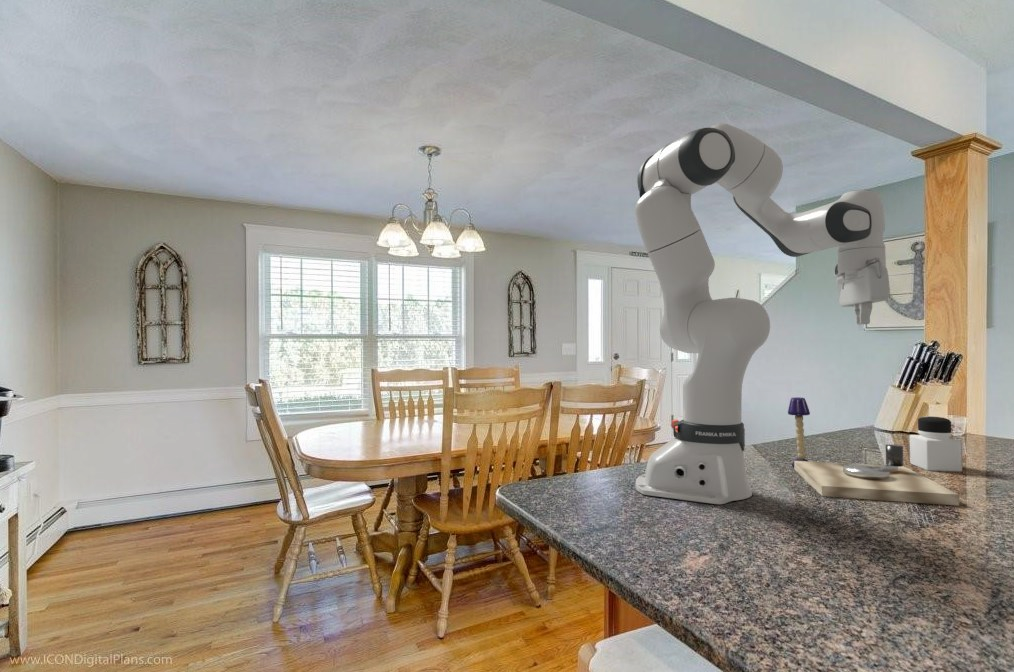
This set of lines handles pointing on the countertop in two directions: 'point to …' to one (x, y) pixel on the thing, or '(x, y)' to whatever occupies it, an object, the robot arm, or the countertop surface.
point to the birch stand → (874, 484)
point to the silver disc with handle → (878, 472)
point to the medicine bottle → (935, 446)
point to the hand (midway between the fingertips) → (863, 324)
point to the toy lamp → (799, 424)
